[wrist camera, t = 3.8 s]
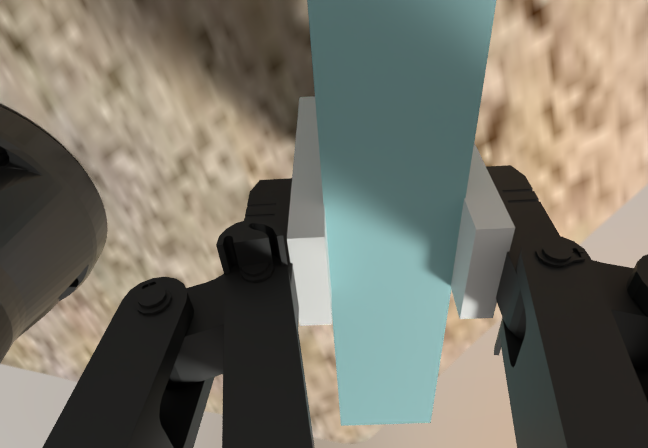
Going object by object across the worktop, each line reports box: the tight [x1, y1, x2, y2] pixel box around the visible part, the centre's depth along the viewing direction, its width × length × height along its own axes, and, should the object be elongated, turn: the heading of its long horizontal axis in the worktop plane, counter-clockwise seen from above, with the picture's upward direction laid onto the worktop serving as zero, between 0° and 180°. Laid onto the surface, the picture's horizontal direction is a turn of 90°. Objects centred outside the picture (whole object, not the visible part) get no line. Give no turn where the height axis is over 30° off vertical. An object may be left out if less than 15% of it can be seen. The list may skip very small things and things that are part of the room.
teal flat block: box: [307, 0, 496, 426], centre depth 17 cm, size 16×3×15 cm, turn 3°
